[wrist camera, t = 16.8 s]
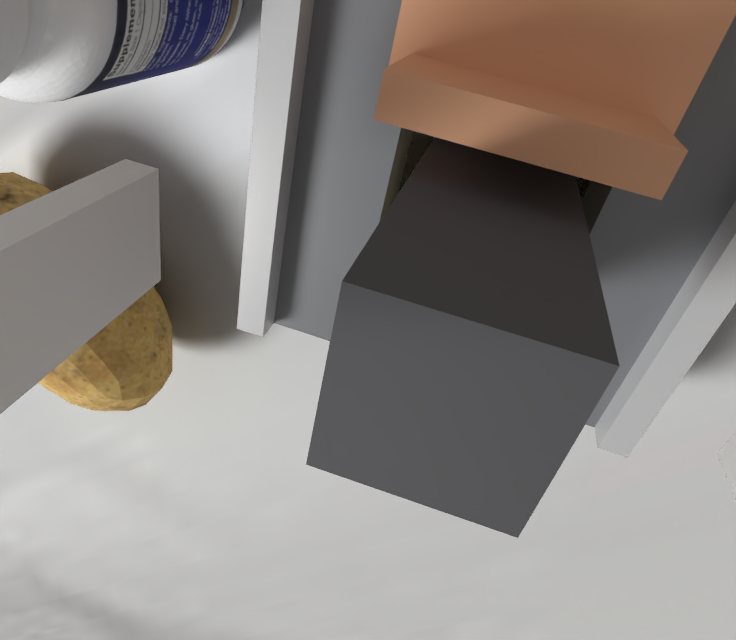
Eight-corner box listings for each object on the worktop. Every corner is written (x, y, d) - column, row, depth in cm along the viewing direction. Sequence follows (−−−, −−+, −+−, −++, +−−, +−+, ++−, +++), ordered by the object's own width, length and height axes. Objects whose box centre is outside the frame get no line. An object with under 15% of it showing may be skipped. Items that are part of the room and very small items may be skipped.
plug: (418, 226, 20) (306, 464, 10) (448, 115, 18) (341, 281, 8) (525, 257, 19) (517, 537, 10) (569, 147, 17) (619, 365, 7)
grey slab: (279, 278, 23) (236, 328, 19) (362, -380, 13) (302, -511, 9) (612, 383, 21) (627, 457, 18) (1006, -263, 11) (1206, -368, 8)
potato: (69, 112, 21) (-81, 153, 16) (236, 335, 25) (158, 426, 20) (-17, 189, 24) (-166, 244, 19) (143, 377, 28) (55, 465, 23)
